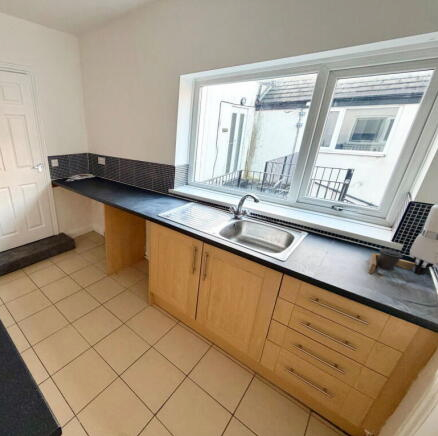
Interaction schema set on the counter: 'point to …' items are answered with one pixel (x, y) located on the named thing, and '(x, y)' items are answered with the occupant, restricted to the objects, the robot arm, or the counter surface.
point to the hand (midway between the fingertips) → (419, 274)
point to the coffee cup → (388, 258)
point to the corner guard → (400, 263)
